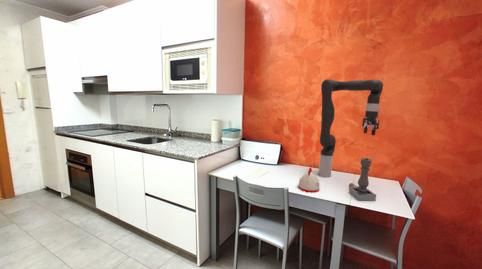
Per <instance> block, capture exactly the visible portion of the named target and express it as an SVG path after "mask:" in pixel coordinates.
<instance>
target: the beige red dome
mask: <svg viewBox="0 0 482 269" xmlns="http://www.w3.org/2000/svg"><path fill="white" fill-rule="evenodd" d="M312 171H313V168H312V166H311V167H310V166H309V169H308V172H305V173H303V175H302V176H301V177H300V178H299V180H298V187H297V188H298V189H299V190H300V191H302V192H304V191H305V193H309V192H310V193H309V194H312V193H313V194H314V193H317V192H319V191H320V180H319V178H318V177H317V176H316V174H315V173H314V172H312Z"/></svg>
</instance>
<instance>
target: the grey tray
mask: <svg viewBox="0 0 482 269" xmlns="http://www.w3.org/2000/svg"><path fill="white" fill-rule="evenodd" d="M358 187H359V185H355V184H354V183H352V182H351V183H349V184H348V194H349V193H350V194H349V195H351V197H352V198H354V199H356V200H357V202H376V199H377V194H375V193H374V192H373V191H372V190H370V189H369V188H366V189H367V194H360V193H358V192H357V189H358Z"/></svg>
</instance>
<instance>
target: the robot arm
mask: <svg viewBox="0 0 482 269" xmlns="http://www.w3.org/2000/svg"><path fill="white" fill-rule="evenodd" d="M383 84H384V83H383V81H382V80H379V79H367V80H366V79H364V80H363V79H362V80H357V79H354V80H347V81H339V80H333V79H329V78H328V79H324V80H323V81H322V82H321V86H320V87H321V88H320V89H321V123H320V124H321V126H320V127H321V128H320V133H319V134H320V135H319V144H320V145H321V147H322V149H321V150H320V153H319V154H320V156H319V166H318V175H319V176H320V177H324V178H330V177H331V176H332V167H333V166H332V165H333V157H334V153H335V148H336V137H335V135H333V134H332V133H331V128H332V125H333V123H334V120H335V107H334V103H333V98H332V93H333V92H338V91H350V92H351V91H355V92H357V91H359V92H360V91H361V92H362V91H369V92H370V93H369V94H368V96H367V101H366V105H365V114H364V117H363V118H362V122H361V123H362V125H361V126H362V127H363V134H368V128H369V127H370V128H371V133H370V135H371V136H375V135H376V132H377V130H379V127H380V119H377V118H378V117H379V110H380V100H381V95H382V92H383V89H384V88H383V87H384V85H383Z"/></svg>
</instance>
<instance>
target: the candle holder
mask: <svg viewBox="0 0 482 269" xmlns="http://www.w3.org/2000/svg"><path fill="white" fill-rule="evenodd" d="M371 165H372V159H371V158H368V157H367V158H366V157H361V159H360V166H361V167H360V170H361V172H360V176H359V178H358V180H357V186H358V189H357V192H358V193H360V194H367V189H368V188H367V187H369V185H370V184H369V171H371V169H370V167H371ZM366 188H367V189H366Z"/></svg>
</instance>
